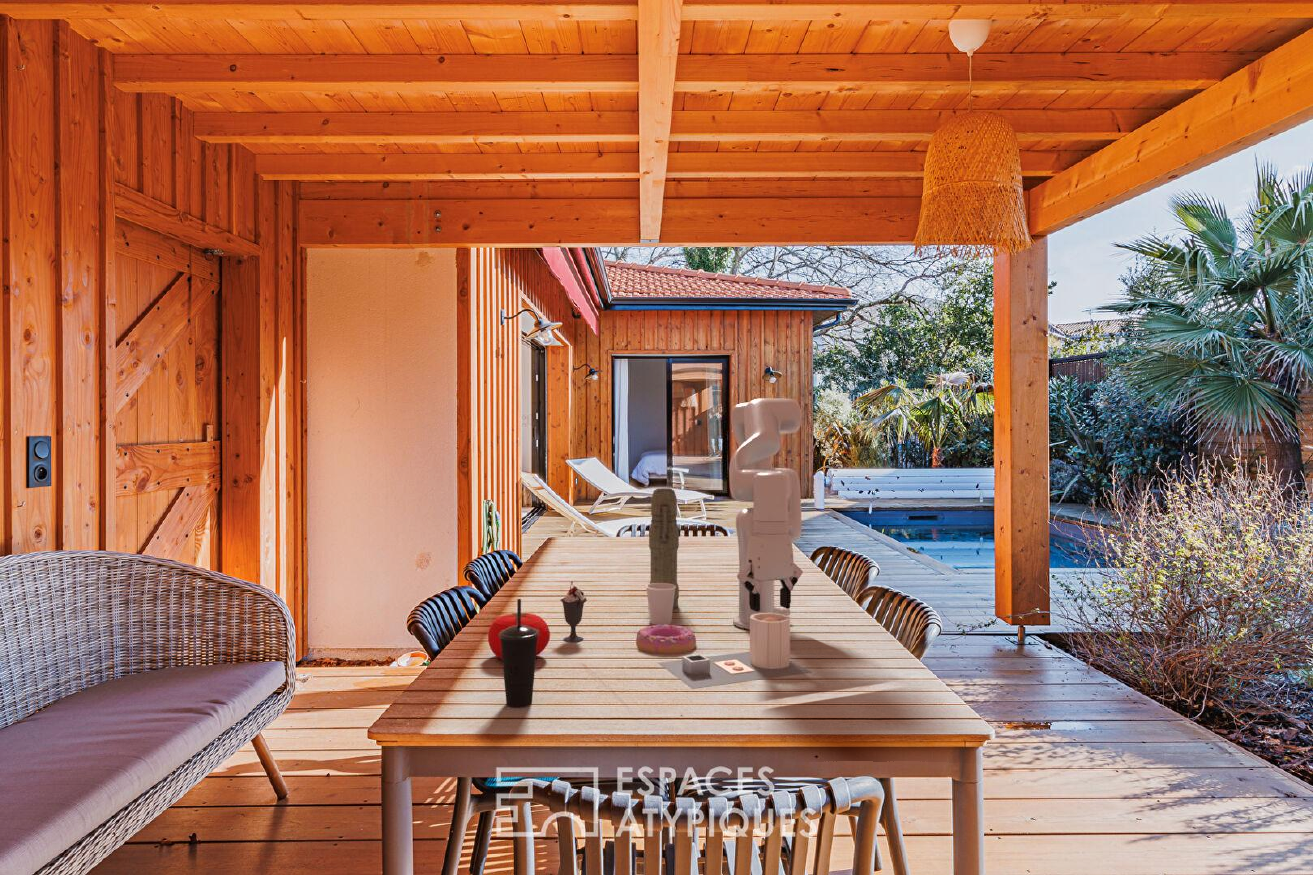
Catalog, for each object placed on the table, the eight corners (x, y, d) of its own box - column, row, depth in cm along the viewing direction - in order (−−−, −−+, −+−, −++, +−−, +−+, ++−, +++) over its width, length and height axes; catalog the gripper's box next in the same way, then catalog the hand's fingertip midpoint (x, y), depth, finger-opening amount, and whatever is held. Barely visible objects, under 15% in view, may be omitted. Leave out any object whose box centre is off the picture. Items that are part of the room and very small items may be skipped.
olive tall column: (674, 601, 234) (675, 487, 234) (681, 610, 222) (682, 490, 222) (646, 602, 233) (646, 487, 232) (651, 611, 221) (652, 490, 221)
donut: (652, 640, 192) (652, 620, 192) (705, 647, 186) (705, 626, 186) (625, 655, 179) (625, 633, 179) (680, 663, 173) (680, 641, 173)
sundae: (565, 644, 187) (565, 583, 187) (556, 638, 193) (556, 578, 192) (590, 641, 190) (590, 581, 190) (580, 634, 196) (580, 576, 196)
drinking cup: (501, 696, 150) (501, 595, 150) (540, 695, 151) (540, 594, 151) (496, 710, 143) (496, 604, 142) (537, 709, 143) (537, 603, 143)
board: (768, 654, 179) (768, 647, 179) (812, 677, 162) (812, 670, 162) (658, 668, 169) (658, 661, 168) (692, 694, 152) (692, 686, 152)
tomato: (475, 662, 173) (475, 616, 172) (506, 647, 184) (506, 604, 184) (530, 669, 167) (530, 622, 167) (559, 653, 179) (559, 609, 179)
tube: (776, 654, 175) (776, 611, 175) (797, 666, 166) (797, 620, 166) (742, 659, 171) (743, 614, 171) (763, 670, 163) (763, 624, 163)
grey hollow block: (700, 667, 165) (701, 654, 165) (710, 673, 161) (710, 659, 161) (682, 670, 163) (682, 656, 163) (691, 676, 159) (691, 662, 159)
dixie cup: (663, 627, 203) (664, 590, 203) (639, 622, 208) (639, 586, 208) (682, 621, 210) (682, 585, 210) (657, 616, 215) (657, 581, 215)
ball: (773, 635, 172) (774, 613, 172) (785, 642, 167) (786, 619, 167) (754, 637, 170) (754, 615, 170) (765, 644, 166) (766, 621, 165)
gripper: (794, 524, 175) (794, 602, 176) (727, 528, 169) (727, 608, 169) (813, 528, 168) (813, 609, 169) (743, 532, 162) (743, 616, 162)
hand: (770, 608), depth 169 cm, fingers open, 7 cm apart
